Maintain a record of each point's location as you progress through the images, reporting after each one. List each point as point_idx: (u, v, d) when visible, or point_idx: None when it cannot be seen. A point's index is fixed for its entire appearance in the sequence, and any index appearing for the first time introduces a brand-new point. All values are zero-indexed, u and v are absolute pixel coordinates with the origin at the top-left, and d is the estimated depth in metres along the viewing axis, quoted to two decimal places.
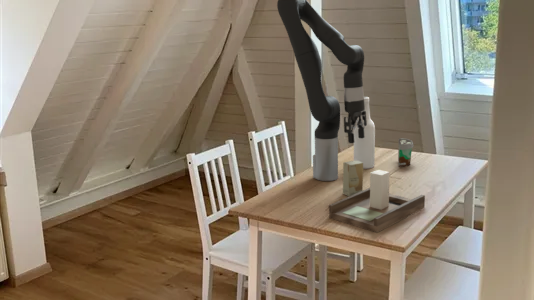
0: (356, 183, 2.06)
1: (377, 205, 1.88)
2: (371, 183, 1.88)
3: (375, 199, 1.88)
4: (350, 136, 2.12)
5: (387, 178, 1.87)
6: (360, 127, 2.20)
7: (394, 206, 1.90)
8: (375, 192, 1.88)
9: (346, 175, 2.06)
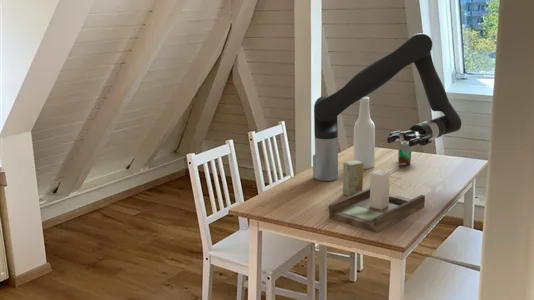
0: (356, 183, 2.06)
1: (377, 205, 1.88)
2: (371, 183, 1.88)
3: (375, 199, 1.88)
4: (416, 143, 1.91)
5: (387, 178, 1.87)
6: (395, 137, 1.98)
7: (394, 206, 1.90)
8: (375, 192, 1.88)
9: (346, 175, 2.06)
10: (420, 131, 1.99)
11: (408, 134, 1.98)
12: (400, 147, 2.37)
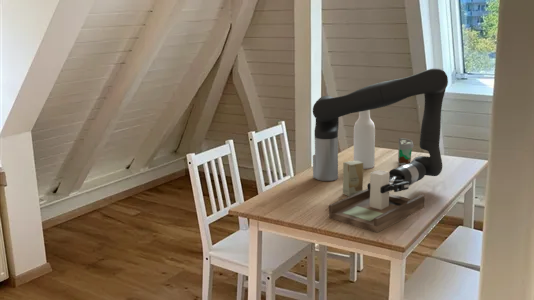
0: (356, 183, 2.06)
1: (377, 205, 1.88)
2: (371, 183, 1.88)
3: (375, 199, 1.88)
4: (388, 189, 1.86)
5: (387, 178, 1.87)
6: None
7: (394, 206, 1.90)
8: (375, 192, 1.88)
9: (346, 175, 2.06)
10: (399, 176, 1.94)
11: None
12: (400, 147, 2.37)
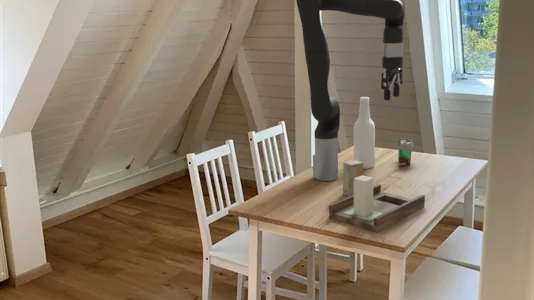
0: None
1: (361, 212, 1.82)
2: (355, 189, 1.82)
3: (359, 205, 1.82)
4: (386, 93, 2.08)
5: (371, 184, 1.81)
6: (396, 85, 2.15)
7: (394, 206, 1.90)
8: (358, 199, 1.82)
9: (346, 175, 2.06)
10: None
11: None
12: (400, 147, 2.37)
